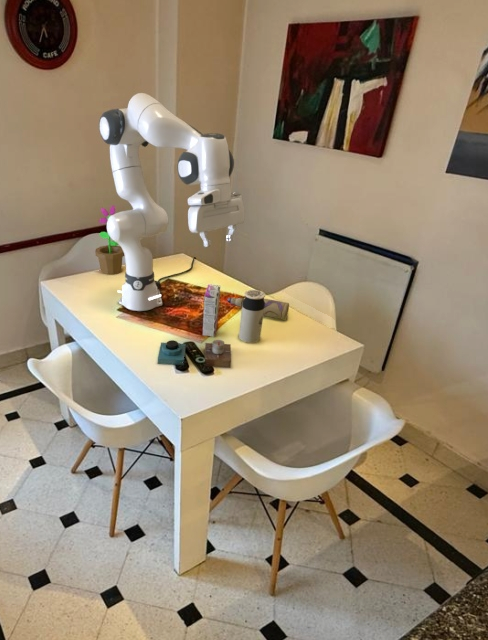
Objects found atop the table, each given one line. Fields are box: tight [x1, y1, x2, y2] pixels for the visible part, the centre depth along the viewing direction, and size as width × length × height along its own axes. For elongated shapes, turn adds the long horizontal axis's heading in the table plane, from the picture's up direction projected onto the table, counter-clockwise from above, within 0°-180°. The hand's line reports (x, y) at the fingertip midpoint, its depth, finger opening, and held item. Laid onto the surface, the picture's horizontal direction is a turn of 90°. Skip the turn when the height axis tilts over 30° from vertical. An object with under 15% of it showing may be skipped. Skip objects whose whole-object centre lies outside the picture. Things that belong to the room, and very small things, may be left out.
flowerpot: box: [94, 204, 125, 275], centre depth 219 cm, size 14×14×30 cm
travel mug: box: [238, 289, 266, 344], centre depth 169 cm, size 8×8×18 cm
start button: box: [166, 339, 179, 350], centre depth 160 cm, size 4×4×2 cm
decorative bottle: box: [226, 297, 290, 320], centre depth 190 cm, size 26×8×7 cm, turn 64°
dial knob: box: [212, 339, 225, 354], centre depth 159 cm, size 4×4×4 cm
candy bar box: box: [201, 284, 221, 338], centre depth 174 cm, size 11×5×16 cm, turn 168°
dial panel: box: [203, 342, 232, 369], centre depth 161 cm, size 11×9×3 cm
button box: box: [157, 341, 187, 366], centre depth 162 cm, size 11×9×4 cm
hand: (219, 243), depth 142 cm, fingers open, 8 cm apart
